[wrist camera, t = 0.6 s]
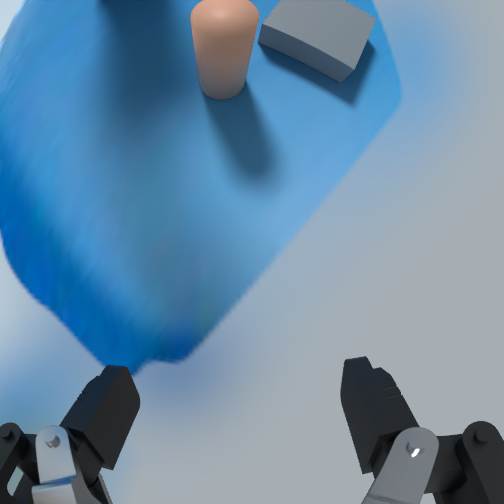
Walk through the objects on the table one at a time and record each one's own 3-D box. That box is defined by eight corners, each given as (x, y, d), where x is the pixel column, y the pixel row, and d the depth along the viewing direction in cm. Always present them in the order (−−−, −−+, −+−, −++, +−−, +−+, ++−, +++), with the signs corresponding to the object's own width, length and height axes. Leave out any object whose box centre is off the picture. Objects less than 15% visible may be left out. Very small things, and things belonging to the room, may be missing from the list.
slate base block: (257, 42, 26) (262, 23, 22) (291, -4, 25) (298, -21, 21) (340, 83, 28) (354, 69, 24) (363, 33, 27) (376, 19, 23)
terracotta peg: (191, 90, 26) (177, 26, 14) (212, 57, 26) (211, -11, 14) (232, 106, 27) (240, 46, 15) (252, 72, 27) (270, 7, 15)
